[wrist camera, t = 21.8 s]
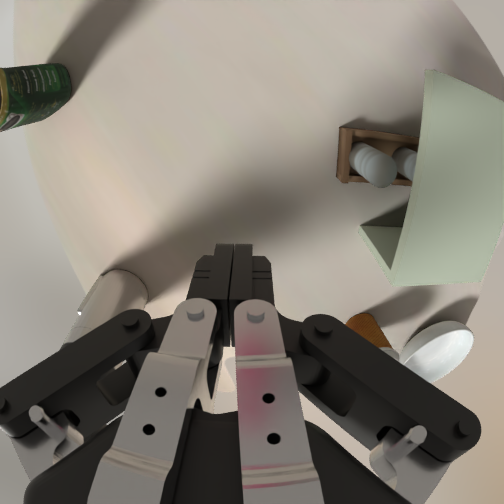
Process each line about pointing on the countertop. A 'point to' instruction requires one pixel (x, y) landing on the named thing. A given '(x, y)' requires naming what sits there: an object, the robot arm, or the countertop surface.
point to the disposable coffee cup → (371, 332)
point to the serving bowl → (437, 349)
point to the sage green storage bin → (449, 191)
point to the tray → (374, 142)
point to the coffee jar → (32, 93)
